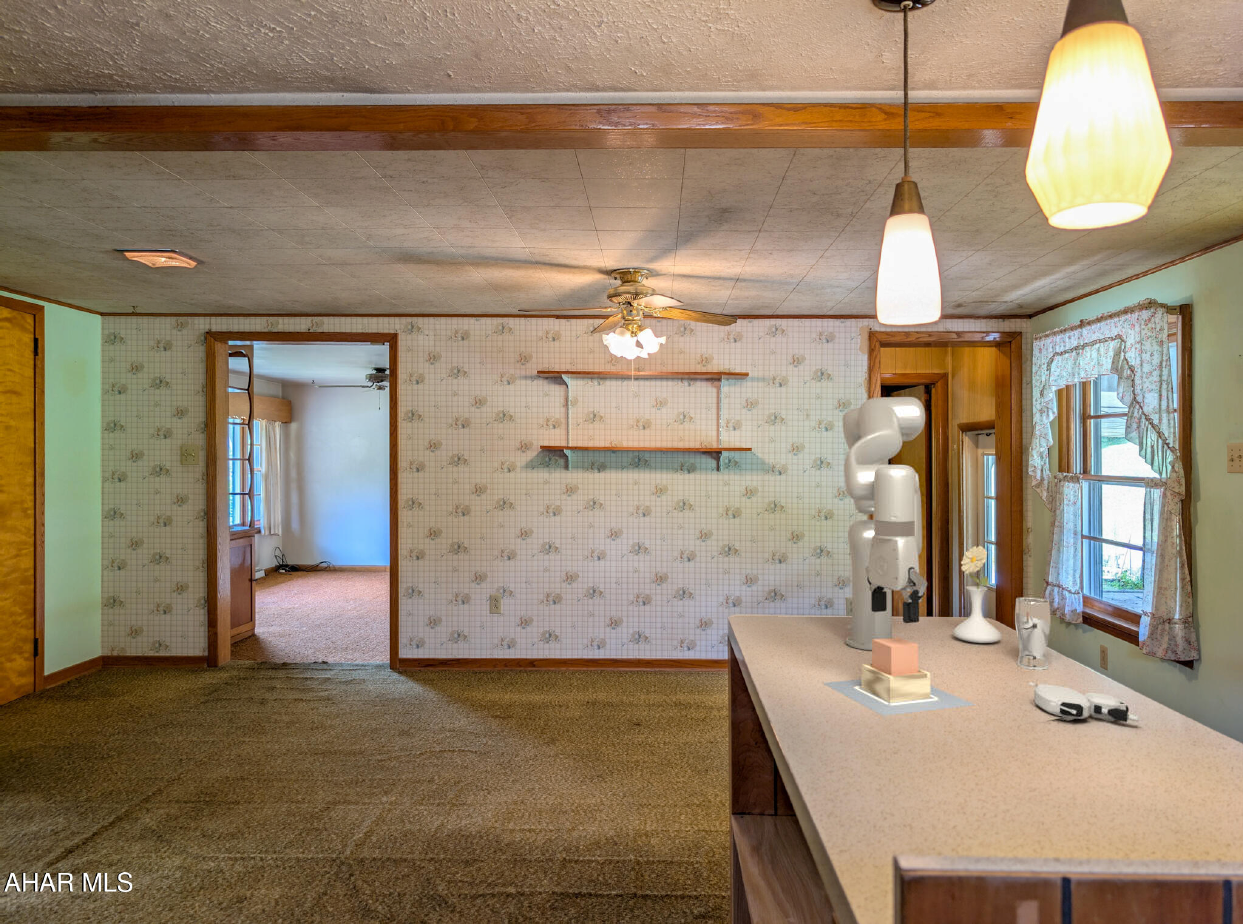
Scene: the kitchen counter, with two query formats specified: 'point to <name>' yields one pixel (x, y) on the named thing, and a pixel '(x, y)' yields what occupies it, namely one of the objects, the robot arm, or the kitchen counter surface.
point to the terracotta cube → (895, 656)
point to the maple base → (895, 684)
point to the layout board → (884, 708)
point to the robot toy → (1080, 704)
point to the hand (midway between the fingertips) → (894, 616)
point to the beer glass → (1032, 631)
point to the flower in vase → (976, 602)
